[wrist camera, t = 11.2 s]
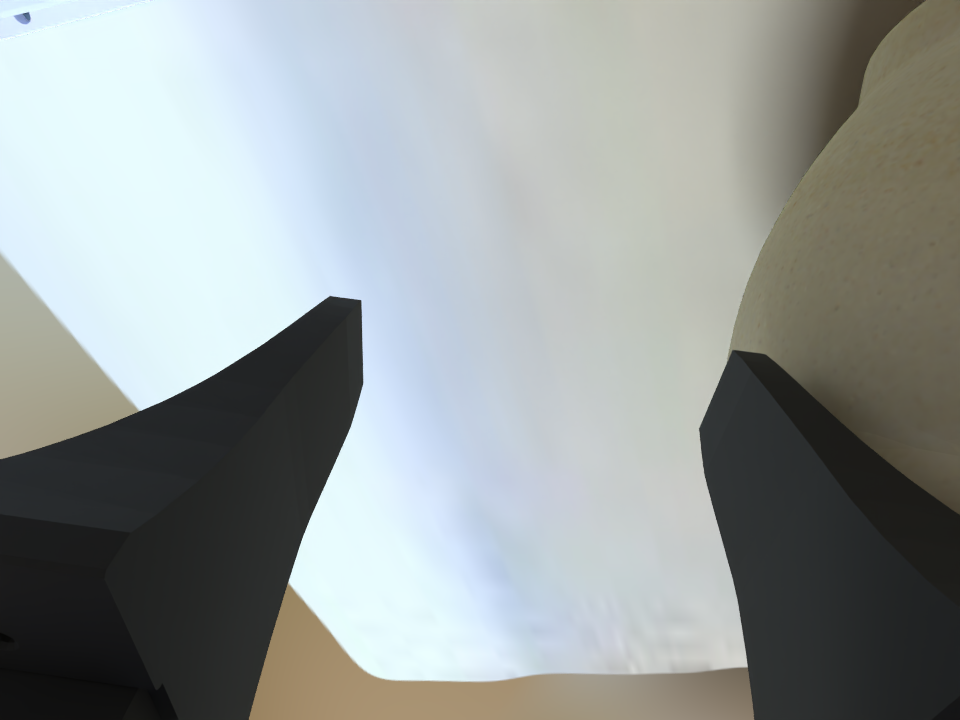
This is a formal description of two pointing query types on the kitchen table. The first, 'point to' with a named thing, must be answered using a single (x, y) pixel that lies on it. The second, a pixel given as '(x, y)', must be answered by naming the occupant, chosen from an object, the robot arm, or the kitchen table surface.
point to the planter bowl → (878, 261)
